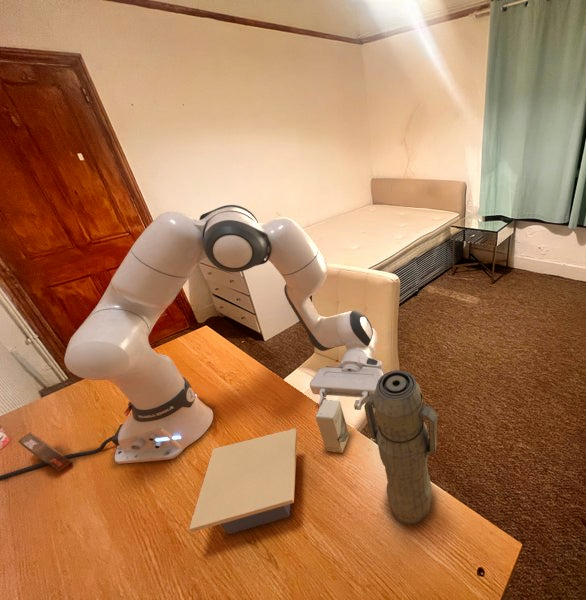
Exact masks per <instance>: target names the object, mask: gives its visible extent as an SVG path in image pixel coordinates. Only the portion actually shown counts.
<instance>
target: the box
mask: <svg viewBox="0 0 586 600" xmlns="http://www.w3.org/2000/svg"><path fill="white" fill-rule="evenodd" d="M314 417H315V420H316V423H317V426H318V429H319V433H320V436H321V438H322V441H323V444H324V447H325V451H326V452H331V453H341V454H342V453H343V452H344V450H345V447H346V446H347V442H348V440H349V437H350V434H349V430H348V427H347V423H346V419H345V415H344V411H343V408H342V403H341V401H340V400H333V399H327V400H324V401H323V402H322V404H321V406H320V407H319V408H318V410H317V412H316V415H315V416H314Z"/></svg>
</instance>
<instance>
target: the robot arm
mask: <svg viewBox="0 0 586 600" xmlns="http://www.w3.org/2000/svg"><path fill="white" fill-rule="evenodd" d="M206 258H207V259H208V260H209V262H210V263H211V264H212V265H213V266H214V267H216V268H218V269H219V270H221V271H224V272H227V273H240V272H245V271H247V270H250V269H252V268H255V267H257V266H261V265H265V264H266V263H267V262H270V263H271V265H272V266H273V267H274V268H275V269H276V271H278V273H279V274H280V275H281V276H282V278H283V280H284V282H285V285H284V288H283V291H284V295H285V298H286V301H287V302H288V304H289V305H290V308H291V309H292V310H293V312H294V314H295V316H296V317H297V319H298V320H299V322H300V323H301V325H302V327H303V329H305V332H306V334H307V337H308V339H309V341H310V343H311V345H312V346H313V347H314V348H315V349H317V351H318V350H319V351H321V352H325V351H329V350H332V349H335V348H340V347H343V346H345V348H346V350H345V351H344V353H343V355H342V357H341V360H340V362H339V364H338V366H337V365H336V366H335V365H334V366H333V365H332V366H331V365H324V366H323V367H319V368H318V369H317V371H316V373H315V375H314V376H313V377H312V379H311V380H310V381H309V388H310V391H311V393H312V394H313V395H319V397H320V398H319V400H318V406H319V408H320V406H321V404H322V402H323V401H324V400H328V399H327V396H332V397H333V396H334V397H335V396H336V397H348V398H350V397H351V398H359V399H357V400H356V399H355V402H354V404H353V408H354V410H356V411H361V410H362V407H363V406H364V405H365V403H366V400H367V398H368V397H369V396H370V395H371V394H374V393H375V389H376V386H377V383H378V380H379V379H380V378H381V376H383V375H384V374H385V370H384V366H383V362H382V361H381V360H379V359H375V358H374V357H375V355H376V351H377V347H378V342H379V341H378V339H379V338H378V333H377V331H376V329H375V328H374V327H372V326H373V325H372V323H371V322H370V320H369V319H368V317H367V316H366V315H365V314H364V313H362V312H361V311H359V310H356V309H354V310H347V311H345V312H341V313H337V314H334V315H329V316H322V315H320V314H319V312H318V311H317V308H316V307H315V306H314V304H313V302H312V300H311V298H310V297H311V296H313V295H314V294H315V293H316V292H318V291H319V290H320V289H321V288H322V286H323V285H324V283H325V281H326V279H327V277H328V269H329V268H328V264H327V261H326V259H325V257H324V256H323V253H322V252H321V251H320V250H319V248H318V246H317V245H316V244H315V242H314V240H312V238H311V237H310V236H309V235H308V234H307V233H306V231H304V229H302V227H301V226H300V225H299V224H298V223H297V222H296V221H295V220H293V219H291V218H289V217H277V218H273V219H272V220H270V221H268V222H264V223H262V222H259V221H258V219H257V218H256V216H255V215H254V214H253V213H252V212H251V211H250V210H249V209H248V208H245V207H243V206H241V205H237V204H227V205H222V206H219V207H217V208H215V209H213V210H209V211H208V212H204V213H202V214H200V216H199V219H196V218H194V217H192V216H190V215H188V214H185V213H183V212H177V211H165V212H163V213H161V214H159V215H158V216H157V217H156V218H155V219H154V220H152V222H151V223H150V224H149V225H147V226H146V228H145V229H144V231H142V233H141V234H140V235H139V236H138V237H137V239H136V240H135V242H134V243H133V244H132V247H131V248H130V249H129V250H128V252H127V254H126V256H125V257H124V259H123V261H122V262H121V263H120V265H119V266H118V268H117V269H116V272H114V274H113V276H112V277H111V279H110V282H109V284H108V286H107V288H106V290H105V291H104V294H103V295H102V296H101V298H100V300H99V302H98V303H97V305H96V306H95V308H93V310H92V311H91V313H90V314H89V315H88V316H87V317H86V319H85V320H84V321H83V323H82V324H81V325H80V326H79V327H78V329H77V330H76V331H75V332H74V333H73V334H72V336H71V337H70V340H69V341H68V344H67V347H66V351H65V354H64V358H63V359H64V365H65V367H66V369H67V370H68V371H69V372H70V373H71V374H73V375H75V376H77V377H78V378H81V379H85V380H87V381H108V382H110V383H111V384H113V385H114V386H116V387H117V388H118V389H119V391H120V392H122V394H123V395H124V396H125V397H126V398H127V400H128V404H127V407H126V409H125V411H124V414H125V416H126V419H125V420H124V422H123V423H120V424H119V426H118V428H117V430H116V431H115V433H114V435H112V436H110V437H109V438H107V439H106V440H104V441H102V443H101V444H100V446H99V447H98V448H94V449H92V450H88V451H82V452H74V453H69V454H66V455H63V456H64V457H65V458H66V459H70V458H75V457H76V458H77V457H84V456H90V455H93V454H96V453H99V452H101V451H102V450H104V449H105V447H106V445H108V443H111V442H112V443H113V444H114V445H115V446H116V450H115V452H114V453H115V454H114V461H115V463H116V464H117V465H120V464H134V463H144V462H156V461H157V462H158V461H168V460H174V459H175V458H176V457H178V456H179V455H180V454H181V453H182V452H183V451H184V450H185V449H186V448H187V447H189V446H190V445H192V444H193V443H195V442H196V441H197V440H199V439H200V438H201V437H202V436H203V435H204V434H205V433H206V432H207V431H208V430H209V428H210V427H211V425H212V422H213V420H214V411H213V410H212V408H210V407H209V406H208V405H206V403H204V402H203V401H201V400H200V398H198V395H197V393H195V391H194V389H193V387H192V385H191V384H190V382H189V381H188V380H187V379H186V377H185V376H183V375H182V373H181V372H180V370H179V369H178V367H177V366H176V364H175V363H174V361H173V359H172V358H171V357H170V356H169V355H167V354H163V353H157V352H156V351H155V350H154V349H153V348H152V347H151V344H150V341H149V337H150V334H151V333H152V331H153V328H154V326H155V325H156V323H157V321H158V320H159V318H160V317H162V315H163V313H164V312H165V311H166V310H167V309H168V307H169V306H170V305H171V304H172V303H173V302H174V300H175V299H176V297H177V296H178V295H179V293H180V291H181V290H182V288H184V286H185V284H186V283H187V281H188V280H189V278H190V277H191V275H192V274H193V272H194V270H196V267H197V266H198V264H200V263H201V262H202V260H204V259H206ZM47 465H50V464H49V463H46V462H44V461H43V462H42V461H41V462H39V463H36V464H33V465H30V466H26V467H23V468H20V469H17V470H14V471H10V472H7V473H3V474H1V475H0V480H3V479H6V478H10V477H12V476H15V475H18V474H22V473H26V472H29V471H31V470H35V469H38V468H41V467H43V466H47Z"/></svg>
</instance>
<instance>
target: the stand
mask: <svg viewBox="0 0 586 600" xmlns="http://www.w3.org/2000/svg"><path fill="white" fill-rule="evenodd" d="M297 447H298V429H297V427H295V428H291V429H287V430H282V431H279V432H275V433H271V434H267V435H263V436H259V437H255V438H251V439H246V440H243V441H238V442H235V443H231V444H227V445H222V446H218V447H215V448H213V449H212V452H211V455H210V458H209V462H208V465H207V468H206V472H205V474H204V478H203V481H202V485H201V488H200V492H199V494H198V498H197V501H196V505H195V508H194V511H193V515H192V518H191V521H190V525H189V528H188V531H190V532H191V533H194V532H198V531H201V530H203V529H204V530H205V529H207V528H211V527H215V526H219V525H220V526H221V528H223V530H224V531H225V533H226V534H227V535H231V534H235V533H238V532H242V531H246V530H248V529H251V528H255V527H258V526H262V525H265V524H268V523H272V522H275V521H279V520H282V519H285V518H289V517H290V516H291V504H294V503H295V490H296V489H295V487H296V467H297V451H298V450H297Z"/></svg>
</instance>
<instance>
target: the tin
mask: <svg viewBox="0 0 586 600" xmlns="http://www.w3.org/2000/svg"><path fill="white" fill-rule="evenodd" d="M18 443H19V444H20V445H21V446H22V447H24V448H25V449H26V450H27V451H29V452H30V453H31V454H32V455H34V456H35V457H37V458H38V459H39V460H41V461H43V462H46V463H49V464H48V465H51V467H53V468H54V469H55V470H56V471H58V472H61V471H62V470H63V469H65V468H66V467H67V466H68V465H70V464H71V463H73V461H71V460H70V458H67V459H66V458H65V457H64V456H65V455H64V454H62V453H61V452H59V451H58V450H57V449H55V448H54V447H53V446H51V445H50V444H48V443H47V442H46V441H44V440H42V439H41V438H39V437H38V436H37V435H35V434H34V433H32V432H31V431H29V432H28V433H27V434H25V435H24V436H23V437H21V438H20V439H19V440H18Z"/></svg>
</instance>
